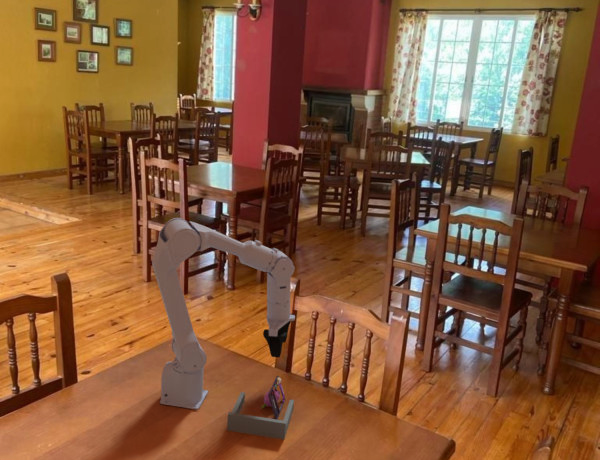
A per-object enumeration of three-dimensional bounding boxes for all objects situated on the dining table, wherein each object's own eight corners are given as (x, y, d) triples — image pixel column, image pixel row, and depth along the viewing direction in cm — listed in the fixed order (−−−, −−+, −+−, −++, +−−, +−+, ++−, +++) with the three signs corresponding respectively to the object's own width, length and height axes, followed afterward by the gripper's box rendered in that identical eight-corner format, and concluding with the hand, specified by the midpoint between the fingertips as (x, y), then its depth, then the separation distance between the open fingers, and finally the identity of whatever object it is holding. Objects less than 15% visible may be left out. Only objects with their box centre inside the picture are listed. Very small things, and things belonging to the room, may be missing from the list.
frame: (226, 430, 127) (227, 414, 126) (240, 401, 139) (241, 386, 138) (284, 439, 126) (285, 423, 125) (293, 409, 137) (294, 394, 136)
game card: (272, 394, 131) (281, 374, 140) (251, 397, 132) (261, 377, 141) (280, 420, 132) (288, 399, 141) (259, 422, 134) (268, 402, 142)
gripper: (289, 313, 133) (289, 365, 137) (299, 289, 147) (299, 336, 151) (259, 311, 134) (260, 362, 139) (272, 287, 148) (272, 334, 152)
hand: (278, 348), depth 145 cm, fingers open, 7 cm apart
